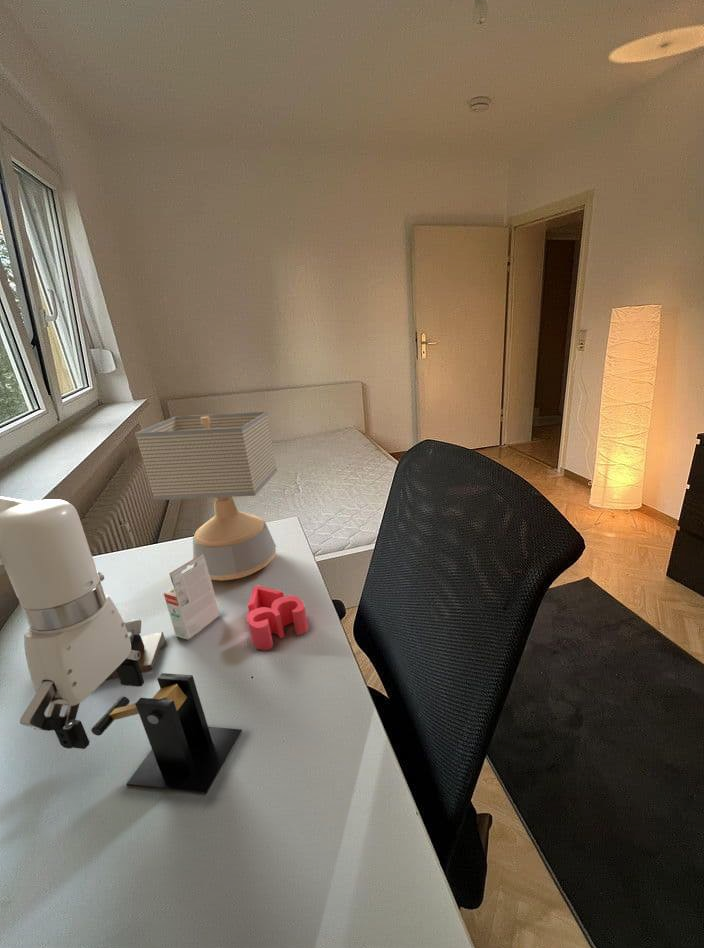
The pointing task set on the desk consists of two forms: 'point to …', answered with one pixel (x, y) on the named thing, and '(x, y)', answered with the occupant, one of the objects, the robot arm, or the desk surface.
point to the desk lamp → (216, 482)
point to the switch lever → (125, 710)
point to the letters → (273, 615)
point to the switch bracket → (181, 741)
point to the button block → (146, 653)
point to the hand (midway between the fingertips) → (107, 712)
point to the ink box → (191, 599)
